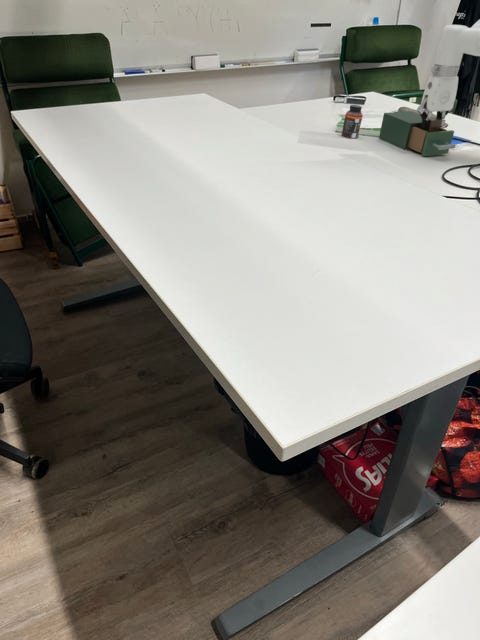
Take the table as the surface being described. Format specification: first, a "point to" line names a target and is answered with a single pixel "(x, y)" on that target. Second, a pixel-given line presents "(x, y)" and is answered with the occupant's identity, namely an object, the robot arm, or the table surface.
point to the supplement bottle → (352, 122)
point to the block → (434, 124)
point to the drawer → (430, 141)
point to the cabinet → (398, 127)
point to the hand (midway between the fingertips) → (429, 131)
